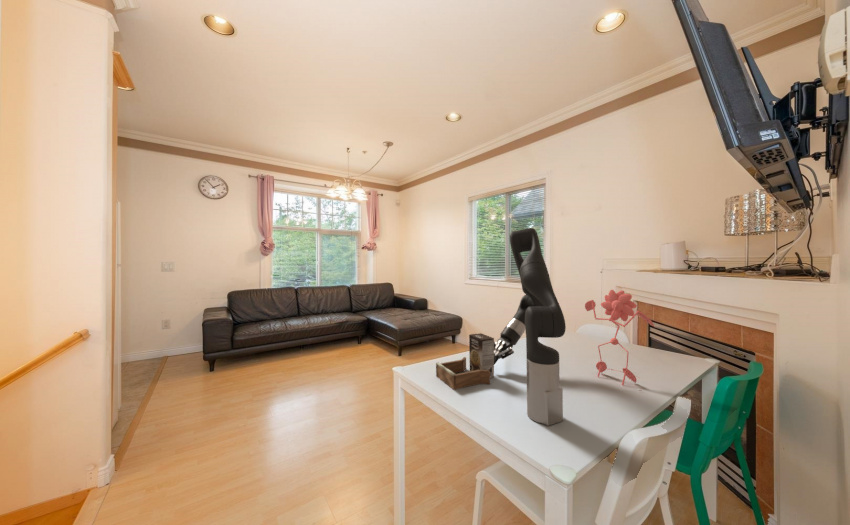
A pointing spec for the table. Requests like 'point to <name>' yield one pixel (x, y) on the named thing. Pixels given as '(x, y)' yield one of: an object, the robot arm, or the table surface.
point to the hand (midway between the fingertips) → (490, 363)
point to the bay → (463, 379)
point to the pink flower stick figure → (617, 309)
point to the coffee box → (481, 353)
